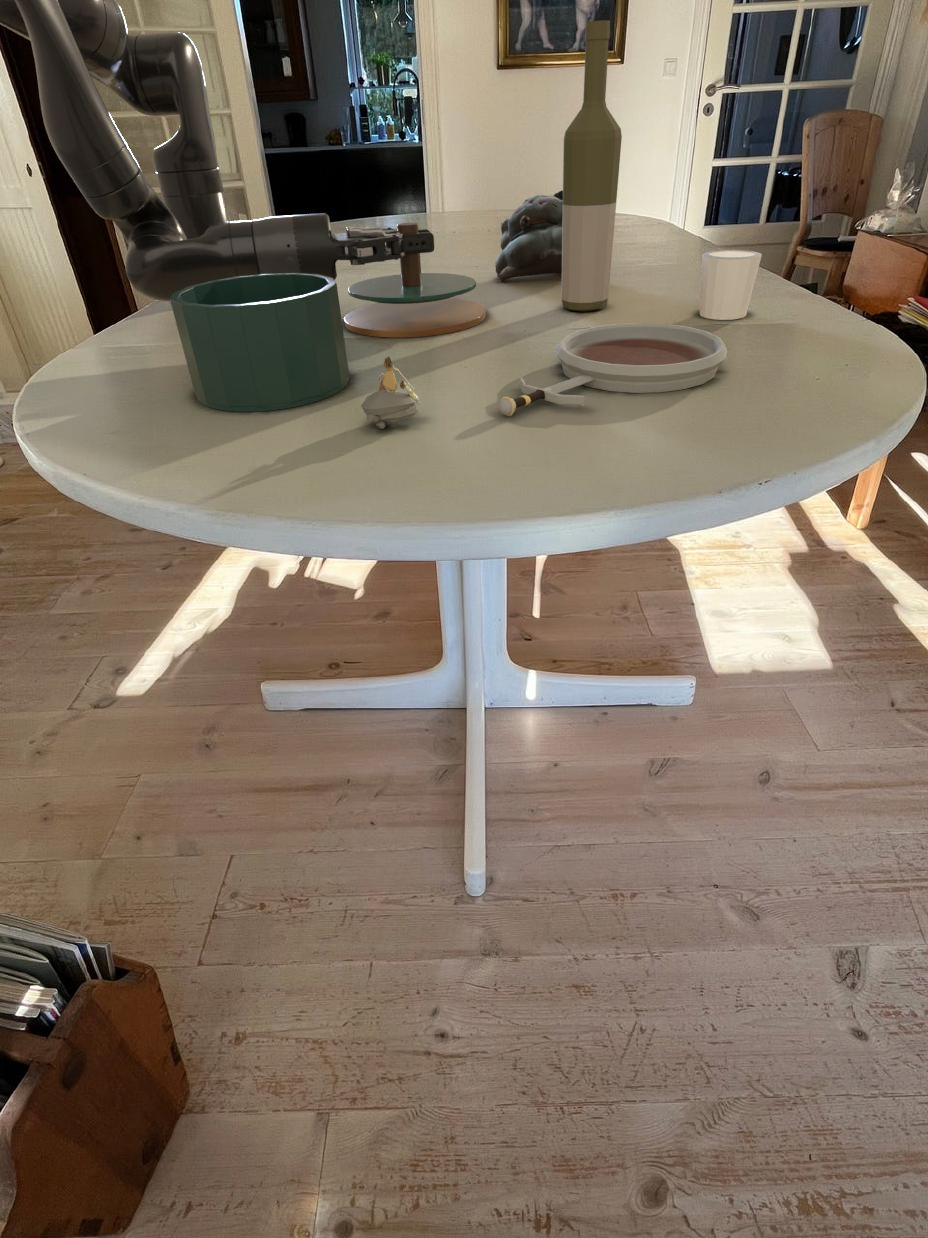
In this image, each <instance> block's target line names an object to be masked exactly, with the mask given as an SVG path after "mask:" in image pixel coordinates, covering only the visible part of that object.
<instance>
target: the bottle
mask: <svg viewBox="0 0 928 1238" xmlns="http://www.w3.org/2000/svg"><path fill="white" fill-rule="evenodd" d="M584 30H585V33H584V42H585V51H584V52H585V53H584V77H583V99H582V100H583V101H582V105H581V108H580V110H579V111H578V113H577V114H576V115H575V117H574V119H573V120H572V121H571V122H570V124H569V126H568V127H567V129H566V130H565V131H564V137H563V156H562V157H563V158H562V159H563V160H562V161H563V165H562V190H563V219H562V274H561V303H562V307H563V308H565V309H568V310H570V311H572V312H593V311H597V310H599V309H602V308H604V307H606V306H607V305H608V301H609V295H610V294H609V292H610V283H611V282H610V281H611V270H612V259H613V246H614V234H615V223H616V212H617V211H616V210H617V201H618V200H617V199H618V188H619V174H620V164H621V163H620V162H621V152H622V151H621V150H622V138H623V137H622V136H623V135H622V128H621V127H620V125H619V123H618V122H617V121H616V119H615V117H614V116H613V115H612V113H611V112H610V110H609V109H608V107H607V103H606V94H607V93H606V92H607V77H608V75H607V74H608V57H609V42H610V41H609V40H610V37H611V20H591V21H587V22H585V29H584Z"/></svg>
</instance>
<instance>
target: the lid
mask: <svg viewBox="0 0 928 1238" xmlns="http://www.w3.org/2000/svg"><path fill="white" fill-rule="evenodd" d="M396 226H397V228H396V229H397V230H398V232H400V233H402V234H403V237H404V234H409V233H418V230H419V223H417V222H403V223H401V222H400V223H398V224H396ZM399 261H400V273H399V274H391V275H384V276H378V277H372V278H368V279H363V280H361V281H358V282H355V283H353V284H351V285H350V286H349V287H347V288H348V289H347V292H348V295H349V296H350V297H352V298H354V299H356V300H361V301H367V302H373V303H388V304H412V303H425V302H433V301H439V300H444V299H448V298H455V297H457V296H461V295H465V294H467V293H470V292H472V291H473V290H475V289H476V287H477V281H476V279H474V278H473V277H470V276H468V275H467V276H466V275H463V274H456V273H455V274H454V273H444V272H443V273H442V272H422V265H421V253H415V254H405V256H402V257H401V258H399Z"/></svg>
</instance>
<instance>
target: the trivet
mask: <svg viewBox="0 0 928 1238" xmlns="http://www.w3.org/2000/svg"><path fill="white" fill-rule="evenodd" d="M486 313H487V312H486V308H485V306H483V305H482V304H481V303H478V302H476V301H471V300H466V299H460V298H453V297H451V298H448V299H444V300H439V301H433V302H425V303H412V304H388V303H378V302H375V303H372V304H368V305H364V306H362V307H358V308H356V309H353V310H351V311H350V312H348V313H347V314H346V315H345V316H344V318H343V321H344V327H345V328H346V329H347V330H348V331H350V332H352V333H354V334H357V335H358V334H359V335H361V336H362V335H363V336H369V337H376V338H391V339H392V338H395V339H396V338H400V339H401V338H421V337H431V336H438V335H439V336H440V335H445V334H451V333H455V332H459V331H460V332H461V331H463V330H466V329H470V328H473V327H474V326H477V325H479V324H481V323H483V321H484V320H485V319H486V316H487V314H486Z"/></svg>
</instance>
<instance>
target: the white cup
mask: <svg viewBox="0 0 928 1238" xmlns="http://www.w3.org/2000/svg"><path fill="white" fill-rule="evenodd" d="M762 256H763V254H762V253H761V252H759V251H754V250H748V249H747V250H746V249H718V250H711V251H706V252H704V253H702V257H701V259H702V260H701V276H700V277H701V279H700V297H699V299H700V300H699V317H702V318H705V319H710V320H716V321H717V320H719V321H720V320H721V321H731V320H739V319H743V318H745V317H747V313H748V309H749V305H750V302H751V298H752V294H753V291H754V286H755V283H756V279H757V275H758V271H759V268H760V263H761V260H762Z"/></svg>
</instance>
